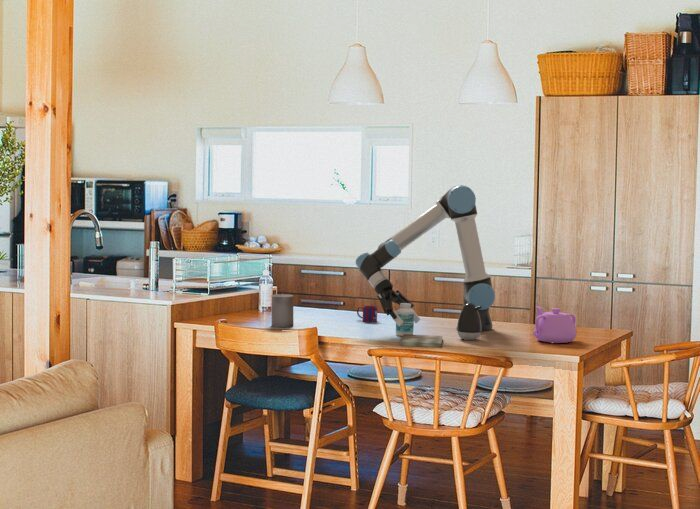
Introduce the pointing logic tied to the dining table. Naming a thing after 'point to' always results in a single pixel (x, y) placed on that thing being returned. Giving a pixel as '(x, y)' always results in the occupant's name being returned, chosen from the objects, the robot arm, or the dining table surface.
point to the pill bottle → (405, 319)
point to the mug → (368, 313)
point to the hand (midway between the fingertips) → (409, 322)
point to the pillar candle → (282, 310)
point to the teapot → (554, 326)
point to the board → (421, 340)
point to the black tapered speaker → (469, 322)
